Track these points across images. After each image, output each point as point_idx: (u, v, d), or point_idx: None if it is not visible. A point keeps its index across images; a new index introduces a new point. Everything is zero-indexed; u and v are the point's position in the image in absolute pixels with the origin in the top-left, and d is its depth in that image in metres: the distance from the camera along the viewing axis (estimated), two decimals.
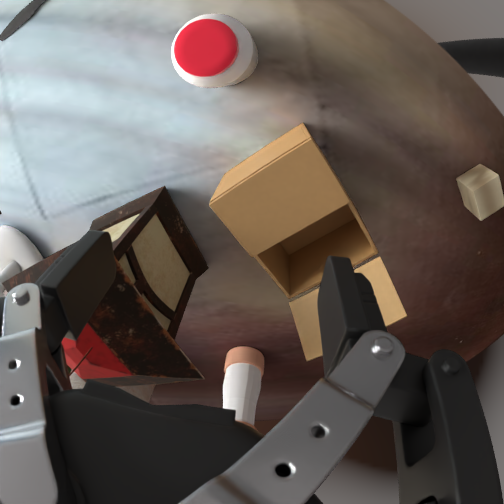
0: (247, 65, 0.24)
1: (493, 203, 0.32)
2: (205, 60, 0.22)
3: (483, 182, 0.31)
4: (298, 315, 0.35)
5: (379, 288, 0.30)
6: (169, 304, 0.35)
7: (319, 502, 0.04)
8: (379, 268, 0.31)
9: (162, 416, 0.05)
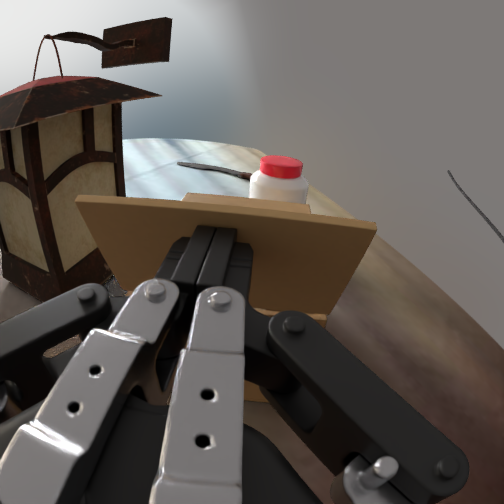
0: (293, 189, 0.37)
1: None
2: (276, 162, 0.38)
3: None
4: None
5: None
6: (54, 195, 0.23)
7: (319, 502, 0.04)
8: None
9: (162, 417, 0.05)
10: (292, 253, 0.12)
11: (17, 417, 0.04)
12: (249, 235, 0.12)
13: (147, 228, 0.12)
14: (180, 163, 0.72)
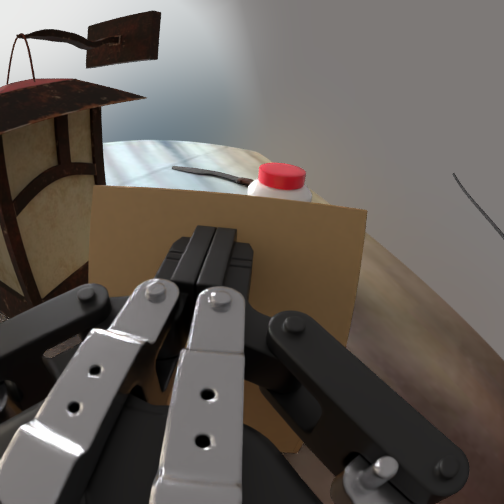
0: None
1: None
2: (276, 171, 0.34)
3: None
4: None
5: None
6: (25, 215, 0.20)
7: (319, 502, 0.04)
8: None
9: (162, 416, 0.05)
10: (293, 250, 0.12)
11: (17, 417, 0.04)
12: (251, 224, 0.12)
13: (152, 221, 0.12)
14: (175, 167, 0.68)
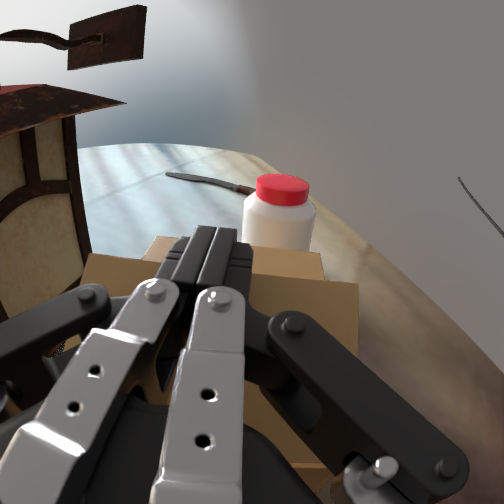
0: (298, 220, 0.30)
1: None
2: (276, 184, 0.31)
3: None
4: None
5: None
6: None
7: (319, 502, 0.04)
8: None
9: (162, 417, 0.05)
10: None
11: (17, 417, 0.04)
12: None
13: None
14: (169, 174, 0.65)
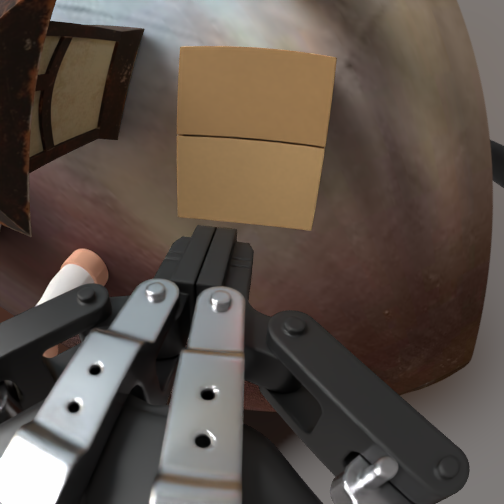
0: None
1: None
2: None
3: None
4: None
5: None
6: (55, 133, 0.21)
7: (319, 502, 0.04)
8: None
9: (162, 416, 0.05)
10: (285, 167, 0.24)
11: (17, 417, 0.04)
12: (265, 155, 0.24)
13: (213, 154, 0.24)
14: None
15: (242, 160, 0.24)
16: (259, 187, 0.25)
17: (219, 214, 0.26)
